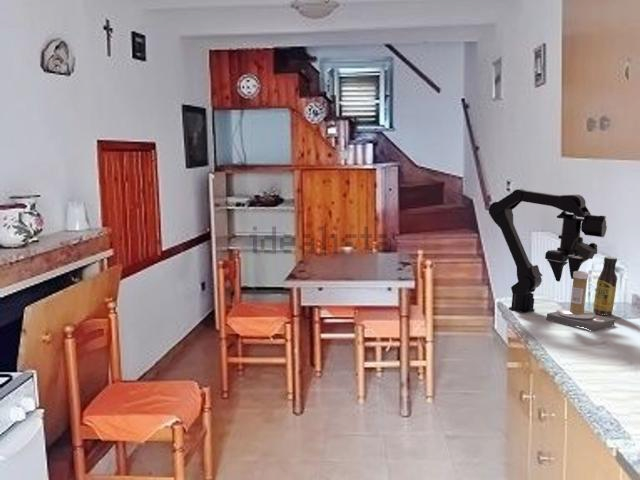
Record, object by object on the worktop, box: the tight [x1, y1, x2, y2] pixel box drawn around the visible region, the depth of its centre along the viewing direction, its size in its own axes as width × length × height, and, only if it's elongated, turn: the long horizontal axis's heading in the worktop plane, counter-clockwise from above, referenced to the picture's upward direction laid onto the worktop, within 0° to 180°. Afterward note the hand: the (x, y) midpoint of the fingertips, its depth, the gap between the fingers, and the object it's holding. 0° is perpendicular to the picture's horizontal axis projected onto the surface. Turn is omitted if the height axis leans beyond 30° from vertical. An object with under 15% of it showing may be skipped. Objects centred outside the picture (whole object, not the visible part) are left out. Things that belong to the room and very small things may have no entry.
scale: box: [545, 311, 616, 332], centre depth 228 cm, size 16×14×2 cm
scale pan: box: [556, 307, 595, 320], centre depth 229 cm, size 12×12×1 cm
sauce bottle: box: [592, 256, 618, 316], centre depth 240 cm, size 6×6×20 cm
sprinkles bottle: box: [569, 270, 589, 314], centre depth 228 cm, size 5×5×14 cm
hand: (565, 280), depth 231 cm, fingers open, 9 cm apart
